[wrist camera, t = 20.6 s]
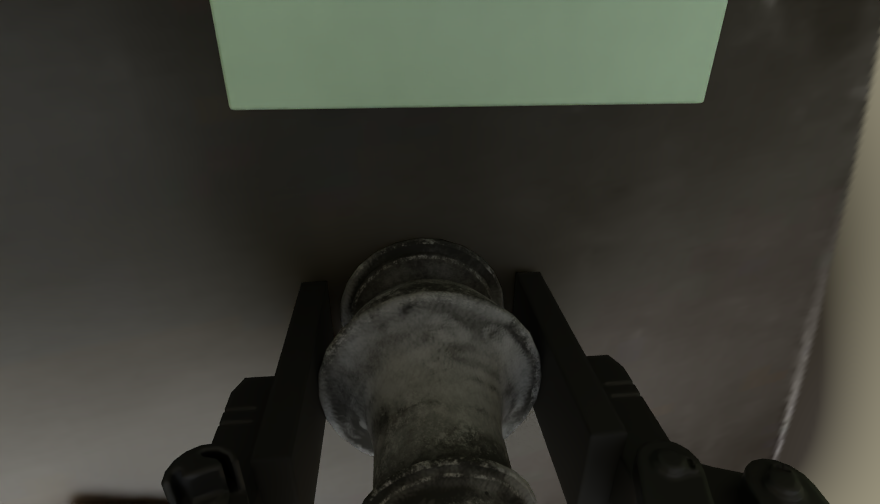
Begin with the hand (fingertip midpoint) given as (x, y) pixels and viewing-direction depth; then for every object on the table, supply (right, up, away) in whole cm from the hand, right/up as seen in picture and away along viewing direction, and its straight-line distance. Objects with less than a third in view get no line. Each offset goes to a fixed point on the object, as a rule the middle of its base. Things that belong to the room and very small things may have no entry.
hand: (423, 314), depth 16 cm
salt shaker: (0, 0, 0) cm, 0 cm away
